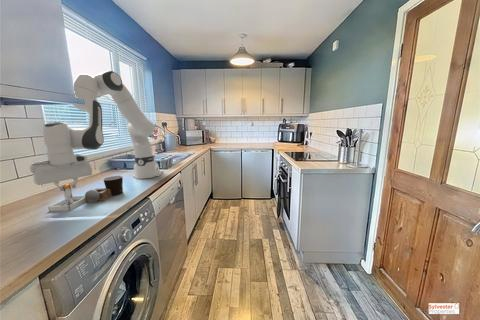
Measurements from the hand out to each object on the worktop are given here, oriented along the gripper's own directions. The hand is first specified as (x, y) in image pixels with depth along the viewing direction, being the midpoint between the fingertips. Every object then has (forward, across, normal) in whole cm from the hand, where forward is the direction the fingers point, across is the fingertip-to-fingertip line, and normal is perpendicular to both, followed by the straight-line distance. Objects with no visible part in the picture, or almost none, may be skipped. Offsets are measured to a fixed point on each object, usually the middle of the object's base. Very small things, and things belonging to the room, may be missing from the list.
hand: (67, 189), depth 95 cm
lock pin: (+8, 0, 0) cm, 8 cm away
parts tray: (+8, 0, 0) cm, 9 cm away
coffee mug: (+9, +20, -1) cm, 22 cm away
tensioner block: (+8, +11, -3) cm, 14 cm away
